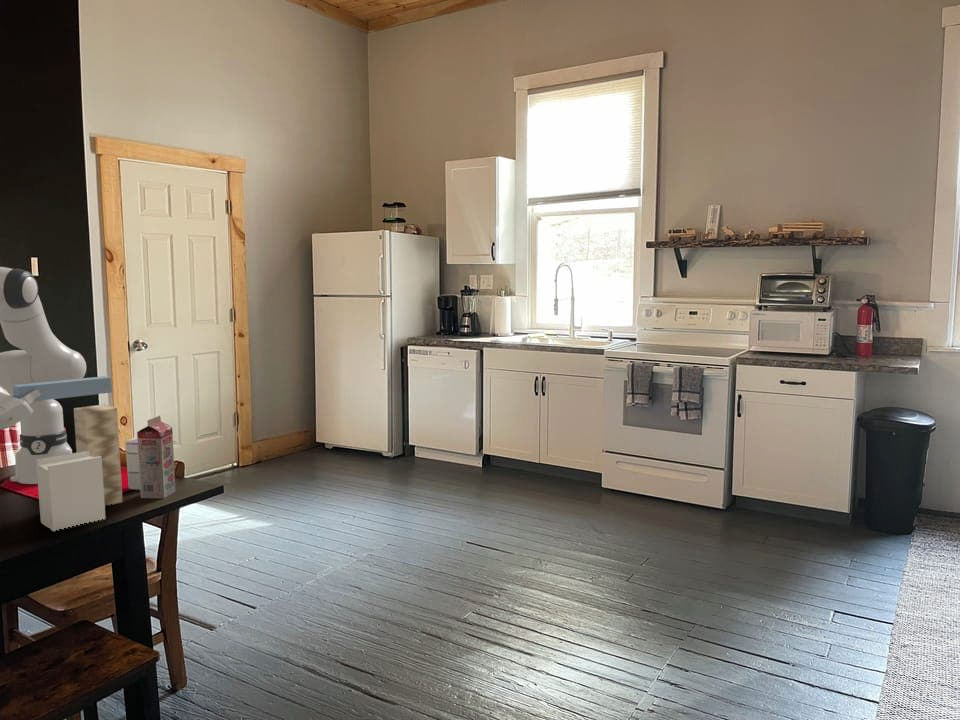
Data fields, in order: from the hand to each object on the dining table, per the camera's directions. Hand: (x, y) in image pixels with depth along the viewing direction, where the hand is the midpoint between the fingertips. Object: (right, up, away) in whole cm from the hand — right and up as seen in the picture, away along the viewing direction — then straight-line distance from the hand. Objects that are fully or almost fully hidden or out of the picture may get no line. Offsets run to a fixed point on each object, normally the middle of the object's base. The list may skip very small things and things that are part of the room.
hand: (34, 390), depth 184 cm
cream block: (+10, -33, 0) cm, 34 cm away
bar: (+5, -2, +5) cm, 7 cm away
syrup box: (+14, -30, +29) cm, 43 cm away
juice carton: (+22, -30, +22) cm, 43 cm away
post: (+9, -31, +14) cm, 36 cm away
